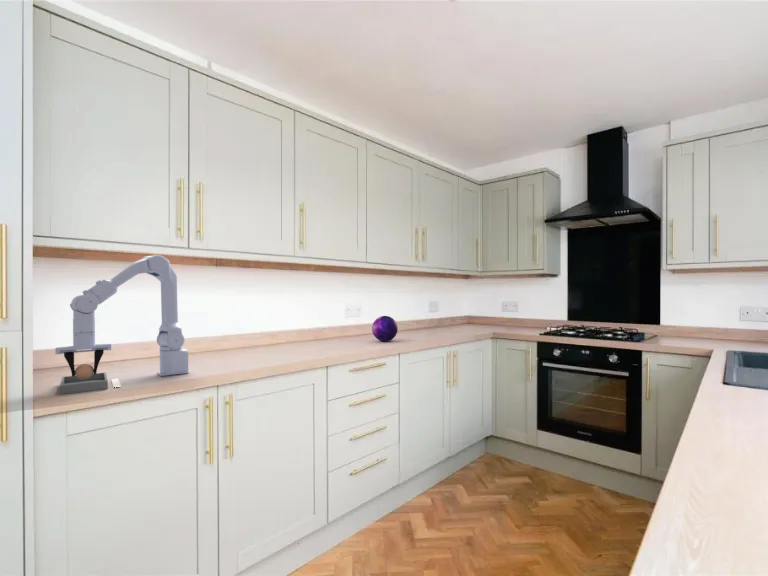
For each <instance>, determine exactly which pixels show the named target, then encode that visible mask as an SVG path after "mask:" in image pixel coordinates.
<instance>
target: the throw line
mask: <svg viewBox="0 0 768 576" xmlns="http://www.w3.org/2000/svg"><path fill="white" fill-rule="evenodd" d="M110 381H111V384H112V388H113V389H117V388H116V387H120V388H122V387H121V383H120V380H119V378H112V379H110ZM114 387H115V388H114Z"/></svg>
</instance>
